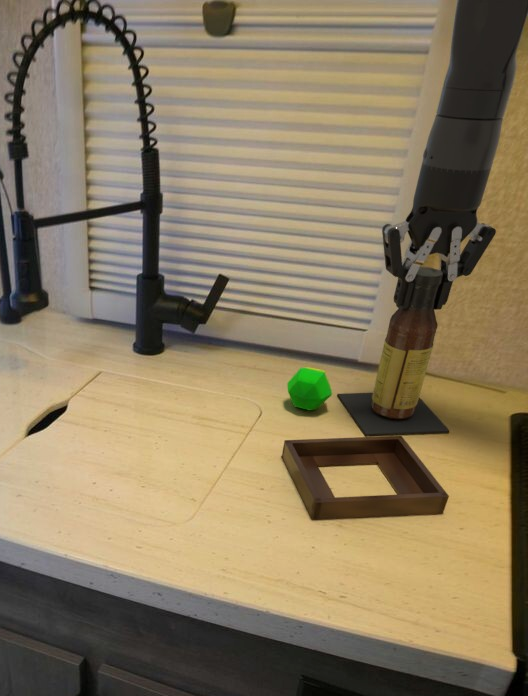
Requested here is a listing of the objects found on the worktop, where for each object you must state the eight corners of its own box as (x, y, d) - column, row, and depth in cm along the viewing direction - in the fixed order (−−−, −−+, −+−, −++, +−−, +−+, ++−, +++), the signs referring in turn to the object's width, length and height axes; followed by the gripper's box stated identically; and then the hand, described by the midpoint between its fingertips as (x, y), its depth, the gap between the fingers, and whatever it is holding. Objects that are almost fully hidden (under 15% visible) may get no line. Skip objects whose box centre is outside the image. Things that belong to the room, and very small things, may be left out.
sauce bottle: (416, 407, 97) (460, 268, 85) (410, 425, 92) (456, 282, 81) (370, 397, 99) (407, 260, 87) (363, 414, 95) (401, 273, 83)
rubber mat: (413, 393, 101) (413, 391, 101) (449, 433, 92) (449, 430, 92) (336, 396, 100) (337, 393, 100) (365, 436, 91) (365, 433, 91)
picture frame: (396, 451, 88) (401, 435, 86) (443, 513, 77) (449, 496, 75) (281, 456, 87) (284, 439, 85) (312, 519, 76) (315, 502, 74)
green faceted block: (309, 368, 91) (327, 344, 97) (271, 388, 95) (291, 364, 101) (335, 411, 92) (351, 385, 99) (298, 429, 97) (315, 402, 103)
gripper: (411, 167, 73) (376, 319, 83) (533, 167, 74) (484, 317, 84) (385, 155, 79) (355, 299, 89) (499, 155, 80) (456, 297, 90)
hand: (418, 307), depth 87 cm, fingers closed on sauce bottle, 4 cm apart
